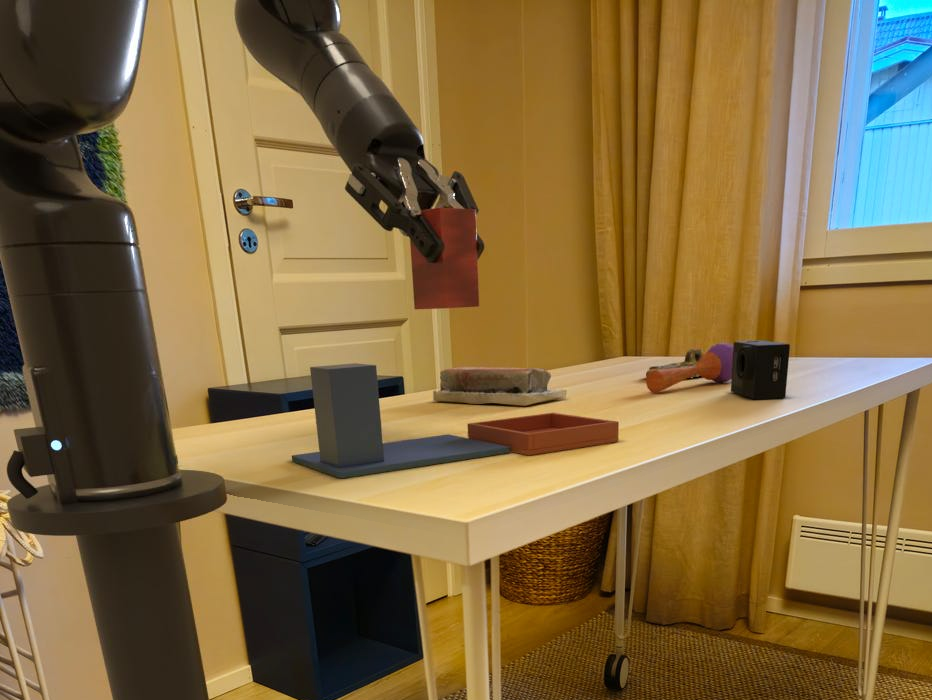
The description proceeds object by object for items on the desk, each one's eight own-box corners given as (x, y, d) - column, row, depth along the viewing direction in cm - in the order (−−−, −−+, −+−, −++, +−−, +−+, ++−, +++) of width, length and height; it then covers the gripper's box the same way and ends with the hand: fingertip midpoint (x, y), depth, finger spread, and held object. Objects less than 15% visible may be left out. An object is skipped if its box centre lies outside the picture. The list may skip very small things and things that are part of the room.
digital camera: (721, 392, 123) (724, 341, 121) (759, 390, 124) (763, 339, 121) (744, 400, 114) (748, 345, 111) (785, 398, 114) (790, 343, 111)
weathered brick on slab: (428, 368, 126) (471, 363, 133) (430, 402, 128) (473, 395, 135) (526, 370, 115) (567, 364, 123) (526, 407, 117) (567, 399, 124)
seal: (676, 388, 141) (722, 378, 151) (680, 358, 139) (726, 350, 149) (630, 379, 147) (677, 371, 156) (633, 351, 144) (680, 344, 154)
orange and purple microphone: (635, 364, 127) (714, 344, 139) (642, 404, 129) (719, 381, 140) (667, 357, 123) (746, 337, 134) (674, 399, 124) (751, 375, 136)
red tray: (528, 455, 82) (528, 434, 81) (468, 442, 91) (467, 423, 90) (618, 441, 87) (618, 421, 86) (553, 430, 96) (552, 412, 95)
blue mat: (340, 478, 75) (339, 471, 75) (291, 461, 85) (291, 455, 84) (510, 452, 84) (509, 446, 83) (448, 439, 93) (448, 434, 93)
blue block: (339, 468, 77) (329, 369, 73) (320, 461, 80) (309, 366, 77) (384, 461, 79) (376, 365, 76) (364, 455, 82) (355, 363, 79)
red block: (445, 308, 80) (439, 207, 77) (414, 309, 83) (408, 212, 80) (479, 306, 83) (475, 209, 80) (448, 307, 86) (443, 213, 83)
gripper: (320, 82, 76) (417, 219, 73) (439, 100, 86) (530, 223, 82) (294, 158, 82) (383, 289, 78) (408, 167, 91) (493, 285, 87)
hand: (458, 254), depth 80 cm, fingers closed on red block, 4 cm apart
